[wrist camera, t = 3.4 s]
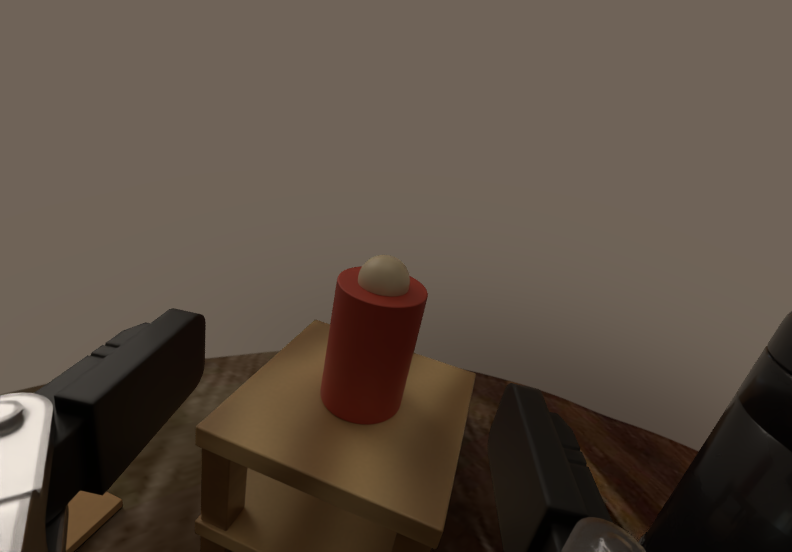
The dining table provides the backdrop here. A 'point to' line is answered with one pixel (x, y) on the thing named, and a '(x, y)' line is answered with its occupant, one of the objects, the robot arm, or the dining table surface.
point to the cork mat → (88, 516)
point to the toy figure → (371, 340)
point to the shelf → (329, 461)
